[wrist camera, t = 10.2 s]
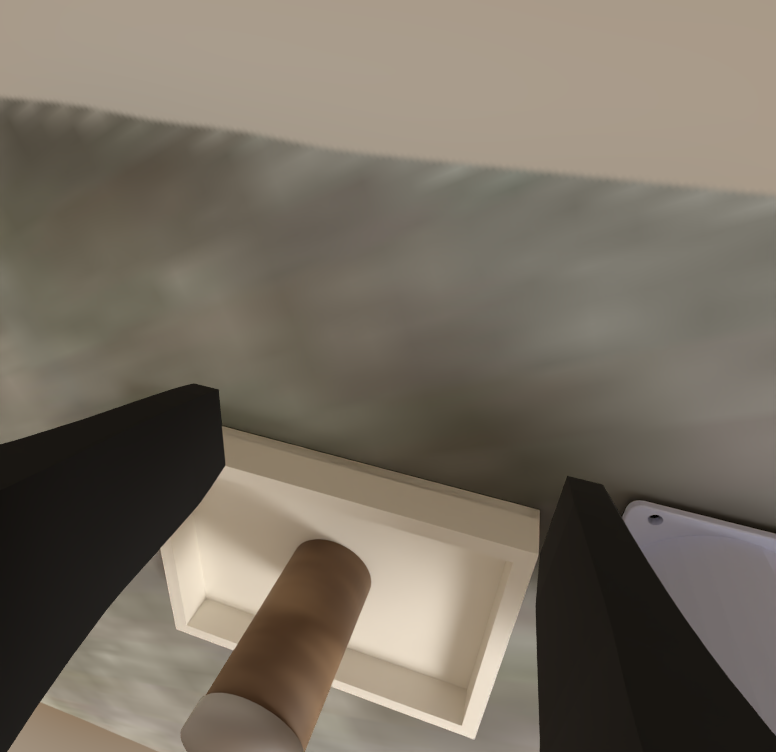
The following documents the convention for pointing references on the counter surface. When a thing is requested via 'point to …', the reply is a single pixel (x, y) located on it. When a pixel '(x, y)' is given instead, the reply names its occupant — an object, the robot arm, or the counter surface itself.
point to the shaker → (284, 657)
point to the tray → (383, 560)
